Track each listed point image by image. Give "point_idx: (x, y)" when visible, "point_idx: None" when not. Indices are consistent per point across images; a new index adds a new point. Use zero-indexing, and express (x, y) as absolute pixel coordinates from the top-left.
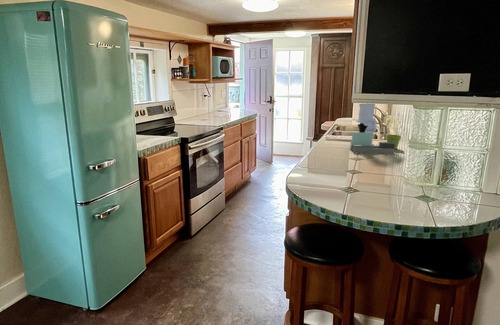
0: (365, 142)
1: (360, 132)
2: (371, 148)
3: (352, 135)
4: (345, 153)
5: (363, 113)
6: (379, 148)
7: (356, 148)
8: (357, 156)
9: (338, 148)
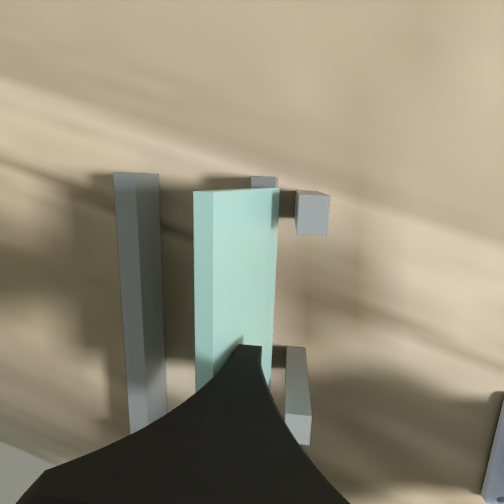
0: None
1: (205, 373)
2: (126, 357)
3: (239, 190)
4: (109, 75)
5: None
6: (137, 430)
7: (116, 199)
8: (7, 164)
9: (364, 56)
